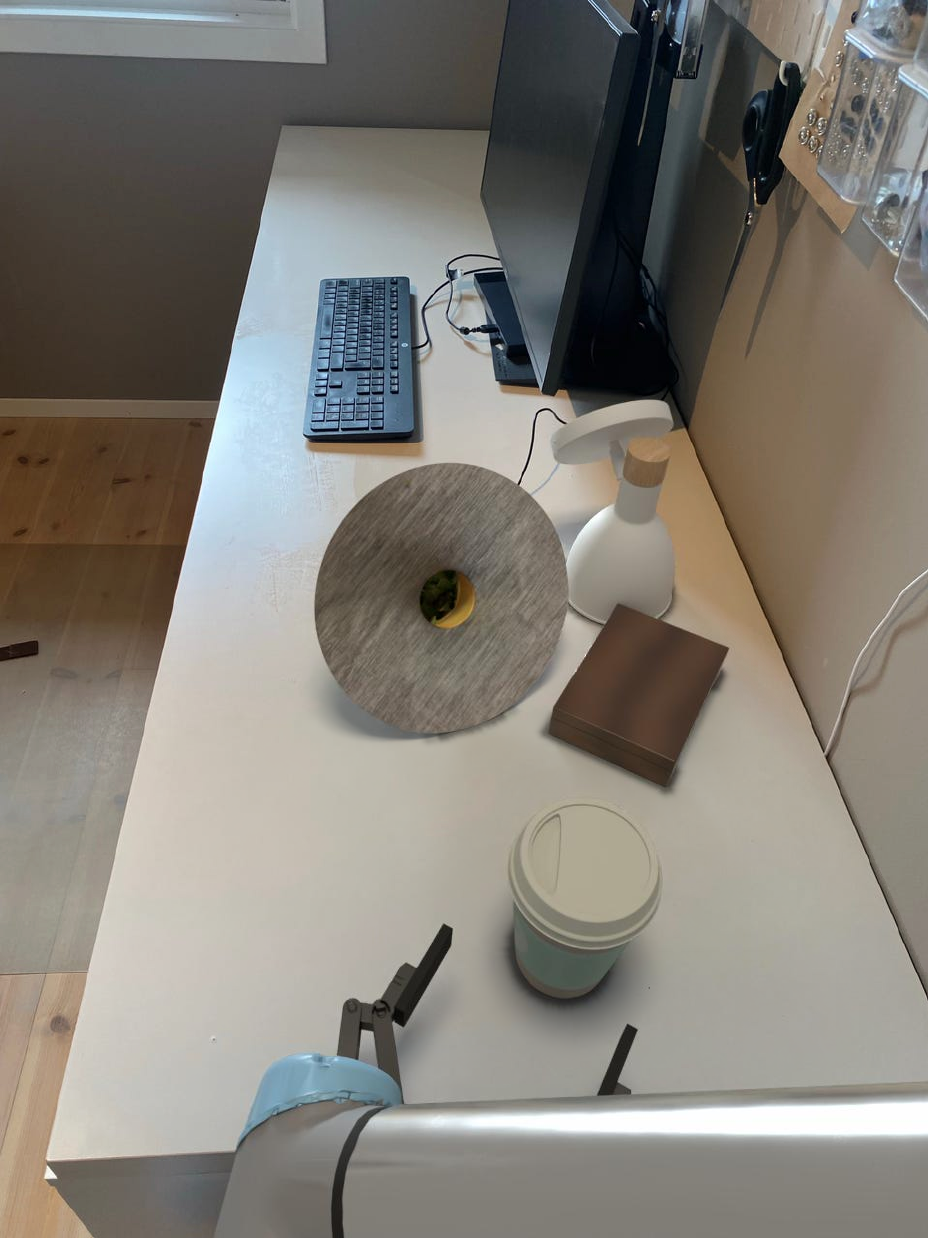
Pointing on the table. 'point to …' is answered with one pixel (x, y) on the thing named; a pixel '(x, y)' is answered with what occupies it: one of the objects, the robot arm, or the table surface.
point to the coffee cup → (579, 892)
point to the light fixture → (621, 511)
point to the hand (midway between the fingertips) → (535, 982)
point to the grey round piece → (441, 597)
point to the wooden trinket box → (638, 693)
